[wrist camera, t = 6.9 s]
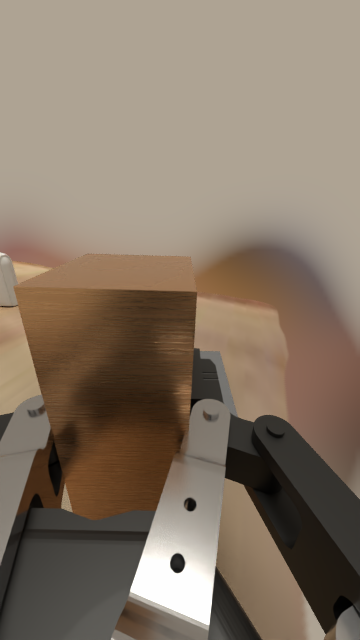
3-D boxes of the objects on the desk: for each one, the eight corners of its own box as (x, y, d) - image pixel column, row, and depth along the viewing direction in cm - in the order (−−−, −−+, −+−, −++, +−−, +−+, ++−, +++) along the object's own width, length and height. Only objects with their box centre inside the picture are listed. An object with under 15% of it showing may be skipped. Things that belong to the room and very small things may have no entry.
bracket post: (86, 562, 10) (13, 286, 5) (113, 461, 14) (87, 253, 9) (181, 564, 10) (196, 291, 5) (181, 462, 14) (190, 257, 9)
